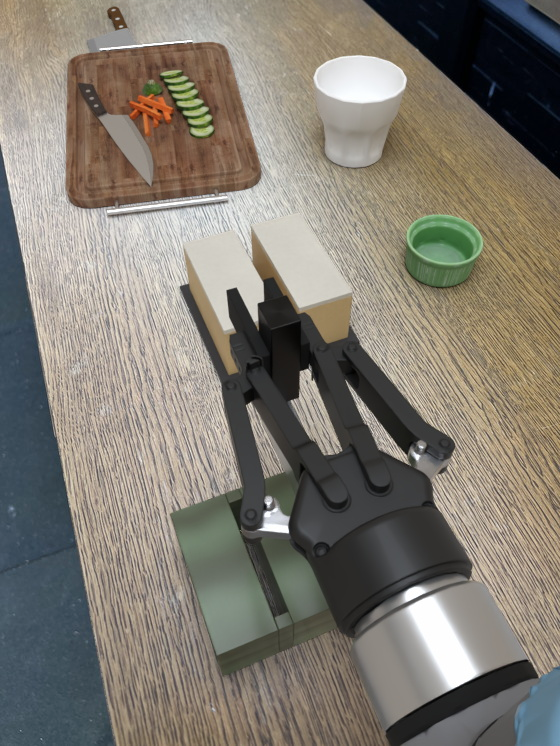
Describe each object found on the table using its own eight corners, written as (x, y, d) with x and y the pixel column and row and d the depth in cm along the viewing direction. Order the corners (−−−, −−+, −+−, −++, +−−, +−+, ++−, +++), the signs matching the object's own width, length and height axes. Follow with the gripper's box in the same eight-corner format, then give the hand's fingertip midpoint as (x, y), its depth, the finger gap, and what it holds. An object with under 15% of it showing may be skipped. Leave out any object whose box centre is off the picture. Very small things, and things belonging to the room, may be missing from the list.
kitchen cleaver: (75, 14, 121) (128, 3, 123) (77, 20, 122) (129, 8, 124) (99, 77, 107) (157, 63, 109) (101, 83, 108) (159, 69, 110)
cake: (359, 344, 72) (366, 295, 66) (223, 388, 68) (217, 341, 62) (302, 254, 81) (303, 204, 75) (179, 289, 78) (170, 239, 72)
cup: (392, 127, 98) (403, 55, 90) (399, 177, 91) (411, 102, 82) (310, 127, 99) (313, 54, 90) (310, 176, 91) (313, 101, 82)
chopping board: (268, 198, 88) (267, 179, 86) (67, 223, 85) (61, 204, 83) (223, 41, 115) (222, 23, 113) (69, 56, 112) (64, 37, 110)
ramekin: (418, 298, 76) (424, 270, 73) (390, 249, 82) (394, 221, 78) (487, 283, 78) (497, 255, 74) (455, 236, 83) (463, 208, 80)
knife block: (346, 623, 53) (352, 598, 49) (222, 677, 51) (216, 656, 46) (290, 501, 60) (291, 469, 56) (179, 542, 58) (169, 513, 53)
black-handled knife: (311, 492, 51) (320, 353, 38) (287, 500, 50) (288, 363, 37) (274, 413, 56) (270, 265, 42) (252, 421, 55) (241, 273, 42)
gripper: (272, 688, 34) (155, 361, 47) (518, 581, 37) (343, 305, 51) (269, 647, 28) (137, 287, 41) (562, 525, 31) (351, 229, 45)
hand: (251, 297), depth 46 cm, fingers closed on black-handled knife, 2 cm apart
